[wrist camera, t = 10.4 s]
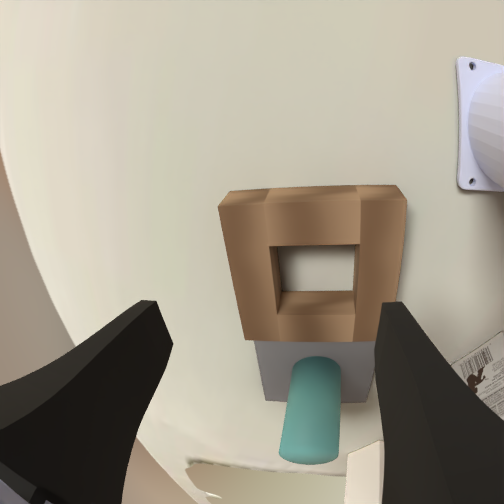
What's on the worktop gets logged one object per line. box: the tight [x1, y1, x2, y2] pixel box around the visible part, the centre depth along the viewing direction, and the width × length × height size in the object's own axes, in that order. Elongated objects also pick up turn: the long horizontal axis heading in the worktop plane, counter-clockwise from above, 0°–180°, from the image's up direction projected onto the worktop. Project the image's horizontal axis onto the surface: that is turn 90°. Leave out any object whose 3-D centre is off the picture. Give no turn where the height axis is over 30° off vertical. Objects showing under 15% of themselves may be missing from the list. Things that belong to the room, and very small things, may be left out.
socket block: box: [218, 185, 407, 342], centre depth 19 cm, size 10×10×2 cm
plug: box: [279, 356, 341, 465], centre depth 21 cm, size 4×4×8 cm
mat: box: [254, 341, 376, 403], centre depth 25 cm, size 10×10×1 cm
